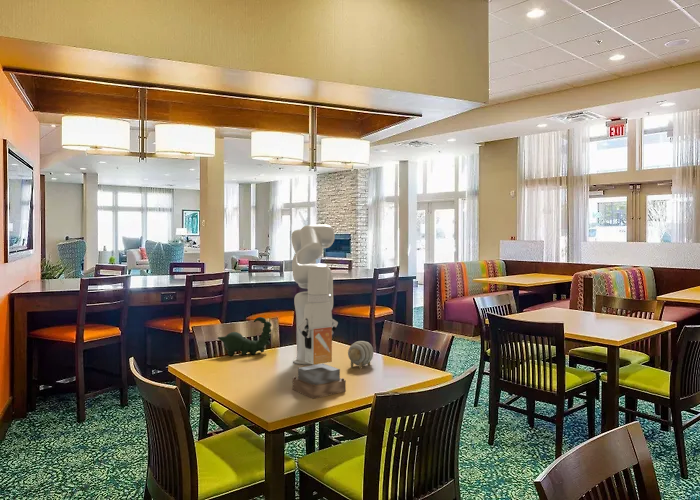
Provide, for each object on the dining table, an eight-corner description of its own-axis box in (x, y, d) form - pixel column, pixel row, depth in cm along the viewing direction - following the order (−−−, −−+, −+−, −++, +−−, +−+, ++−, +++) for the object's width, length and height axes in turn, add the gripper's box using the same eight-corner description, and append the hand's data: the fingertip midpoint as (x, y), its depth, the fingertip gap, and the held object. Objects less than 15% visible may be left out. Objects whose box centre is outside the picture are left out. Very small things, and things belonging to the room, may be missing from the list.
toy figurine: (267, 354, 255) (215, 353, 248) (270, 316, 255) (218, 314, 248) (270, 358, 246) (216, 357, 239) (273, 318, 246) (219, 316, 239)
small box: (313, 365, 183) (313, 328, 182) (304, 361, 188) (304, 326, 188) (332, 361, 187) (332, 326, 187) (323, 358, 193) (322, 324, 192)
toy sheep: (341, 369, 218) (341, 343, 217) (358, 360, 233) (358, 336, 232) (364, 372, 213) (363, 345, 213) (380, 363, 228) (380, 338, 228)
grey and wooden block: (324, 382, 198) (324, 362, 197) (345, 391, 186) (345, 369, 186) (292, 389, 189) (292, 367, 189) (313, 398, 178) (312, 375, 178)
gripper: (331, 296, 195) (332, 342, 196) (292, 299, 185) (292, 348, 185) (343, 298, 189) (343, 345, 190) (303, 301, 179) (303, 351, 179)
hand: (318, 346), depth 187 cm, fingers closed on small box, 8 cm apart
